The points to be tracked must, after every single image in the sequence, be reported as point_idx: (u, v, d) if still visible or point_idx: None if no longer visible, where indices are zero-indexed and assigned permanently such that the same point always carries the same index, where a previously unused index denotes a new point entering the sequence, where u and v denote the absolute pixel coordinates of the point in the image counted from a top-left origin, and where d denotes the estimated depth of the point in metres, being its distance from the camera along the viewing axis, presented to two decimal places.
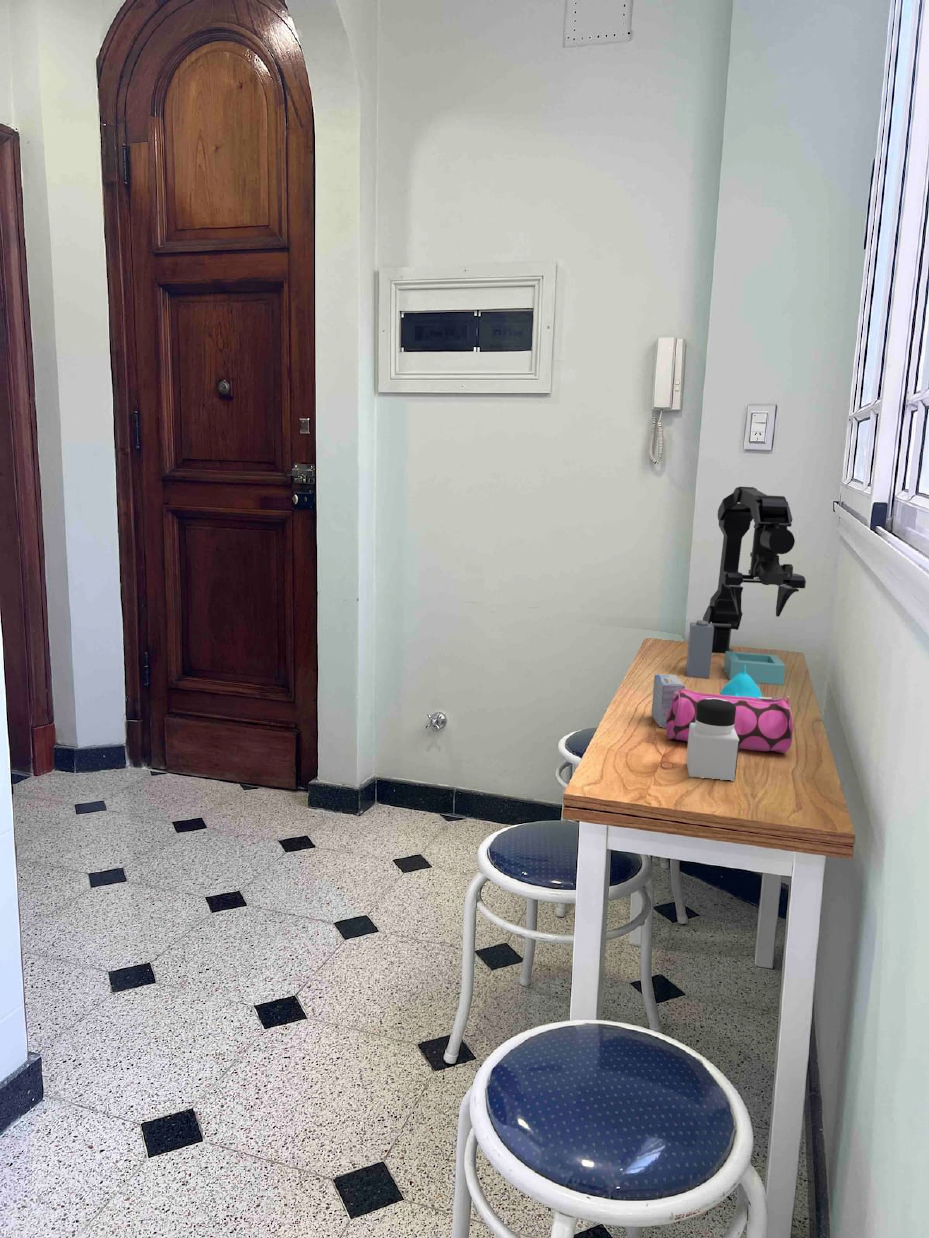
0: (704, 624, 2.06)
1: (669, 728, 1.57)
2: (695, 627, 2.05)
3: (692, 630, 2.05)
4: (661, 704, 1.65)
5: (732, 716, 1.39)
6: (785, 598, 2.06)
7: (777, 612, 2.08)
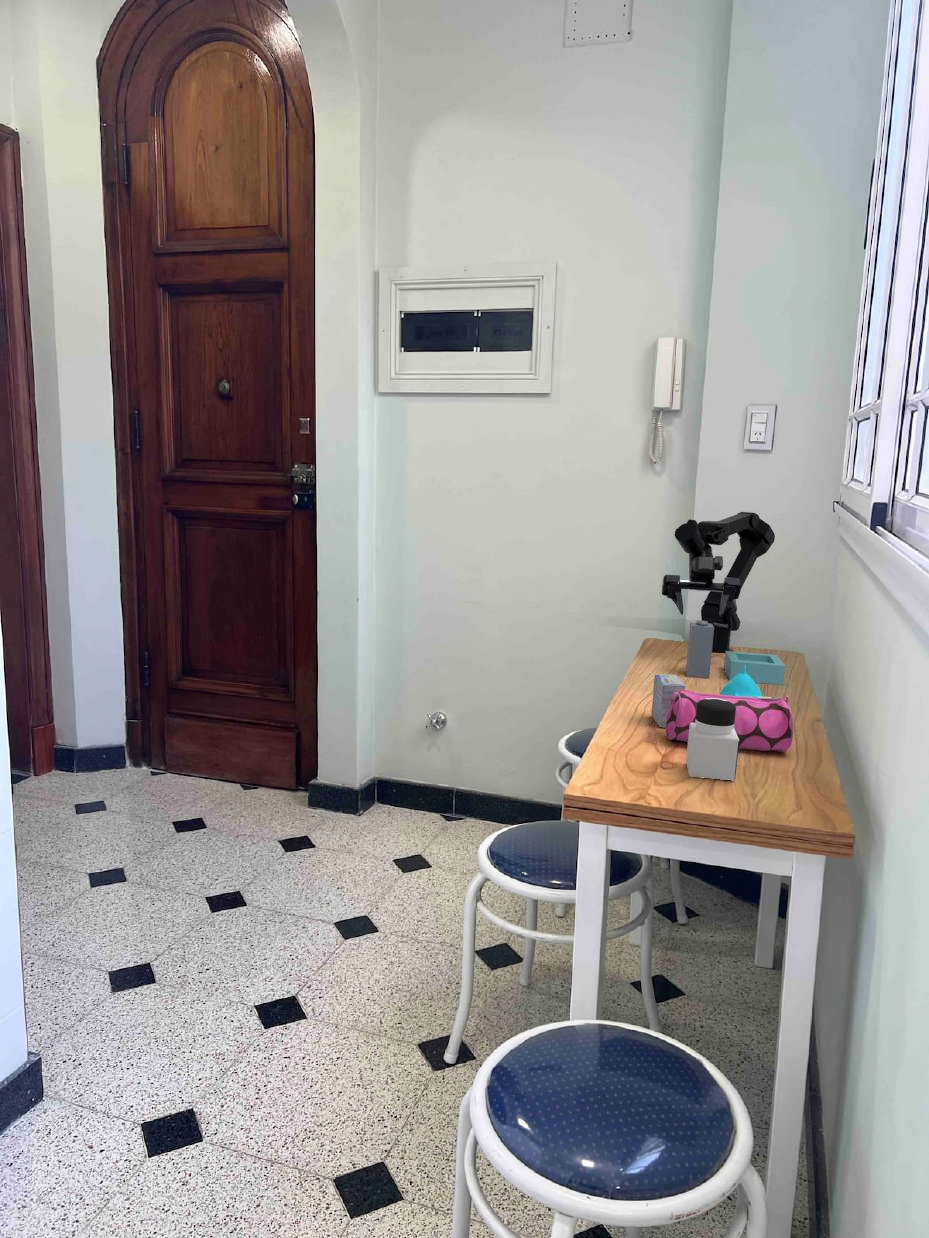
0: (704, 624, 2.06)
1: (670, 729, 1.56)
2: (695, 627, 2.05)
3: (692, 630, 2.05)
4: (661, 704, 1.65)
5: (732, 716, 1.39)
6: (724, 597, 2.15)
7: (720, 612, 2.14)
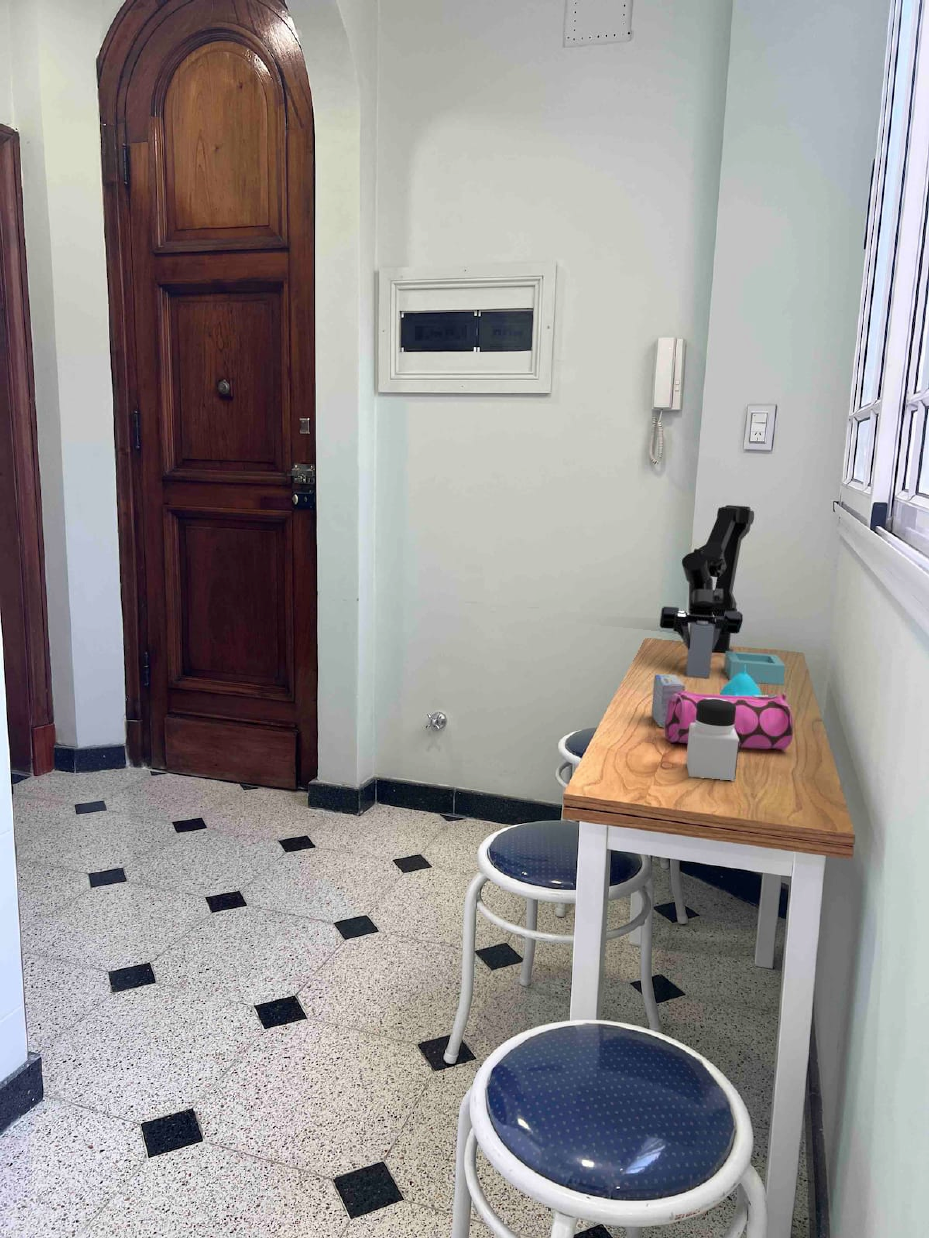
0: (704, 624, 2.06)
1: (673, 731, 1.55)
2: (695, 627, 2.05)
3: (692, 630, 2.05)
4: (661, 704, 1.65)
5: (732, 716, 1.39)
6: (716, 631, 2.08)
7: None
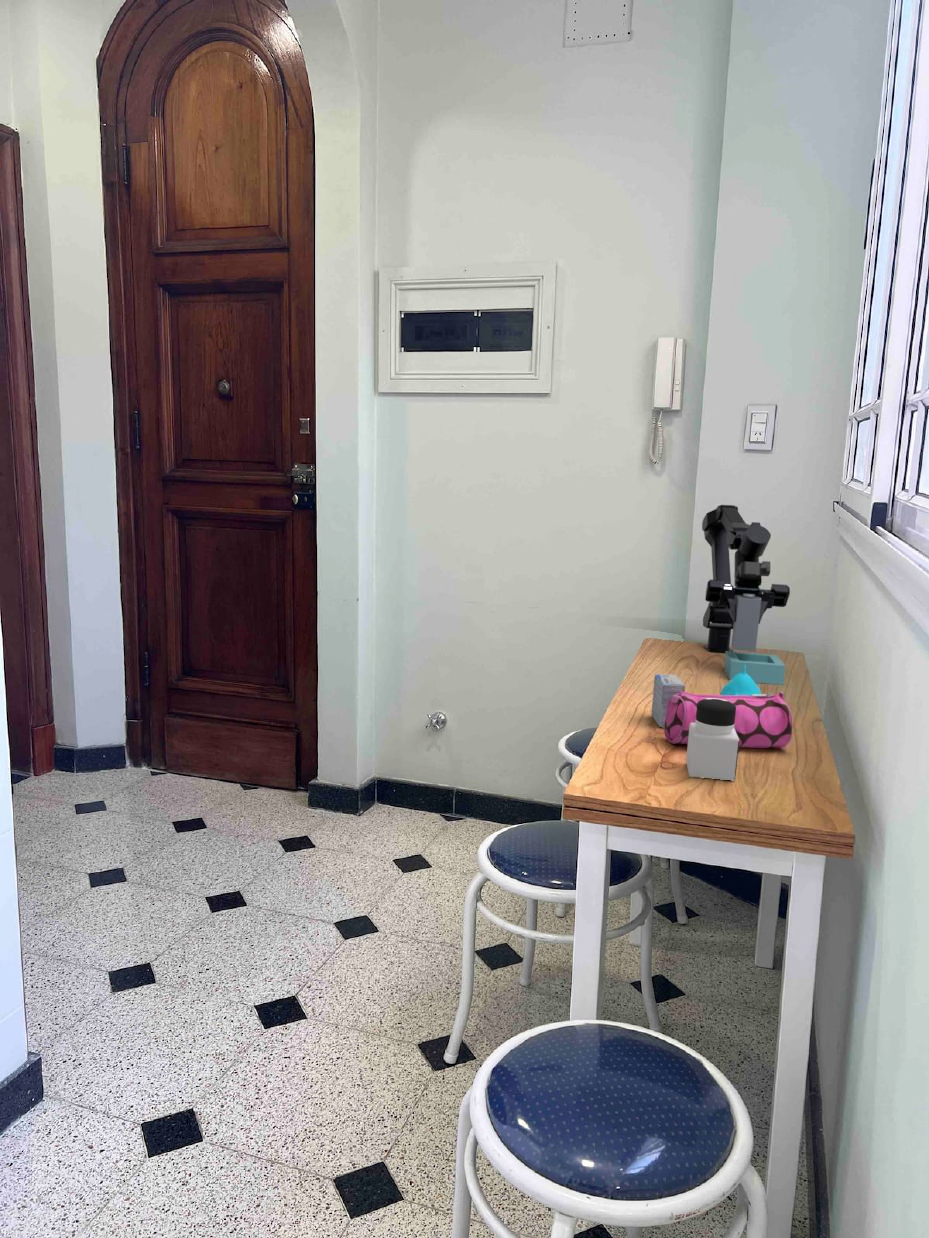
0: (751, 597, 2.05)
1: (675, 733, 1.54)
2: (742, 600, 2.05)
3: (739, 603, 2.05)
4: (661, 704, 1.65)
5: (732, 716, 1.39)
6: (763, 603, 2.07)
7: None
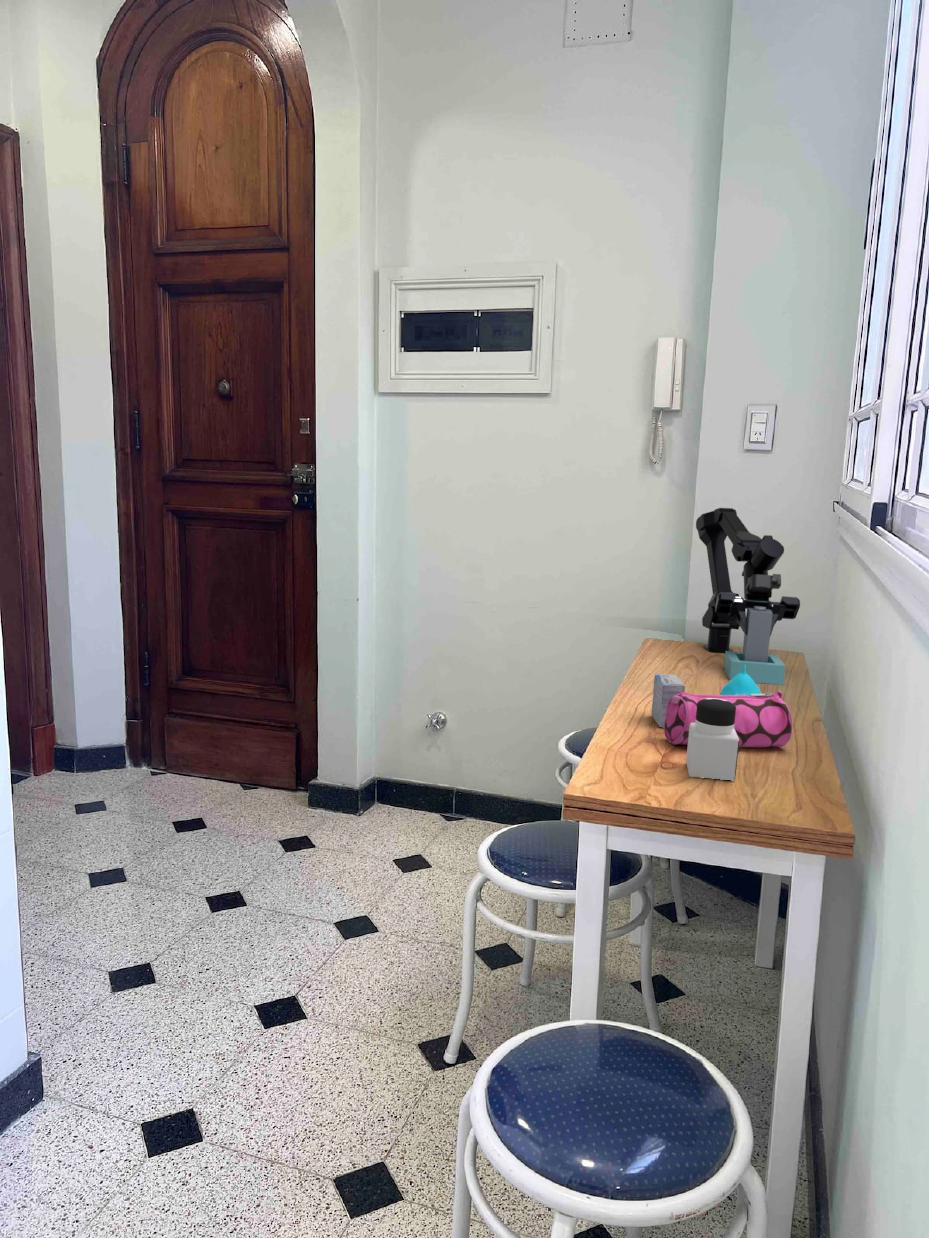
0: (762, 609, 2.06)
1: (676, 734, 1.53)
2: (753, 612, 2.05)
3: (750, 615, 2.06)
4: (661, 704, 1.65)
5: (732, 716, 1.39)
6: (773, 616, 2.08)
7: None
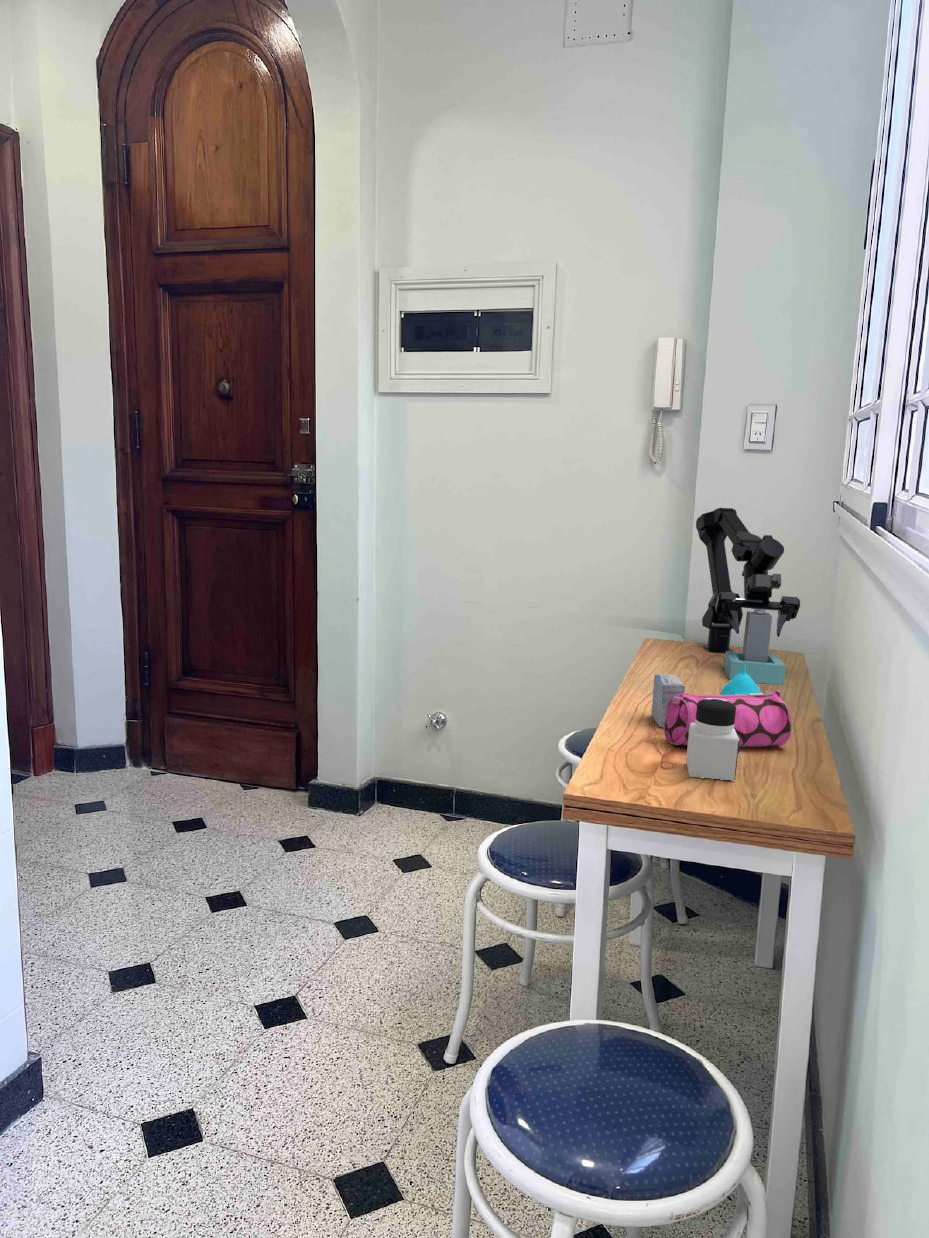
0: (762, 613, 2.06)
1: (678, 735, 1.53)
2: (753, 616, 2.05)
3: (750, 619, 2.06)
4: (661, 704, 1.65)
5: (732, 716, 1.39)
6: (782, 616, 2.08)
7: (777, 631, 2.07)
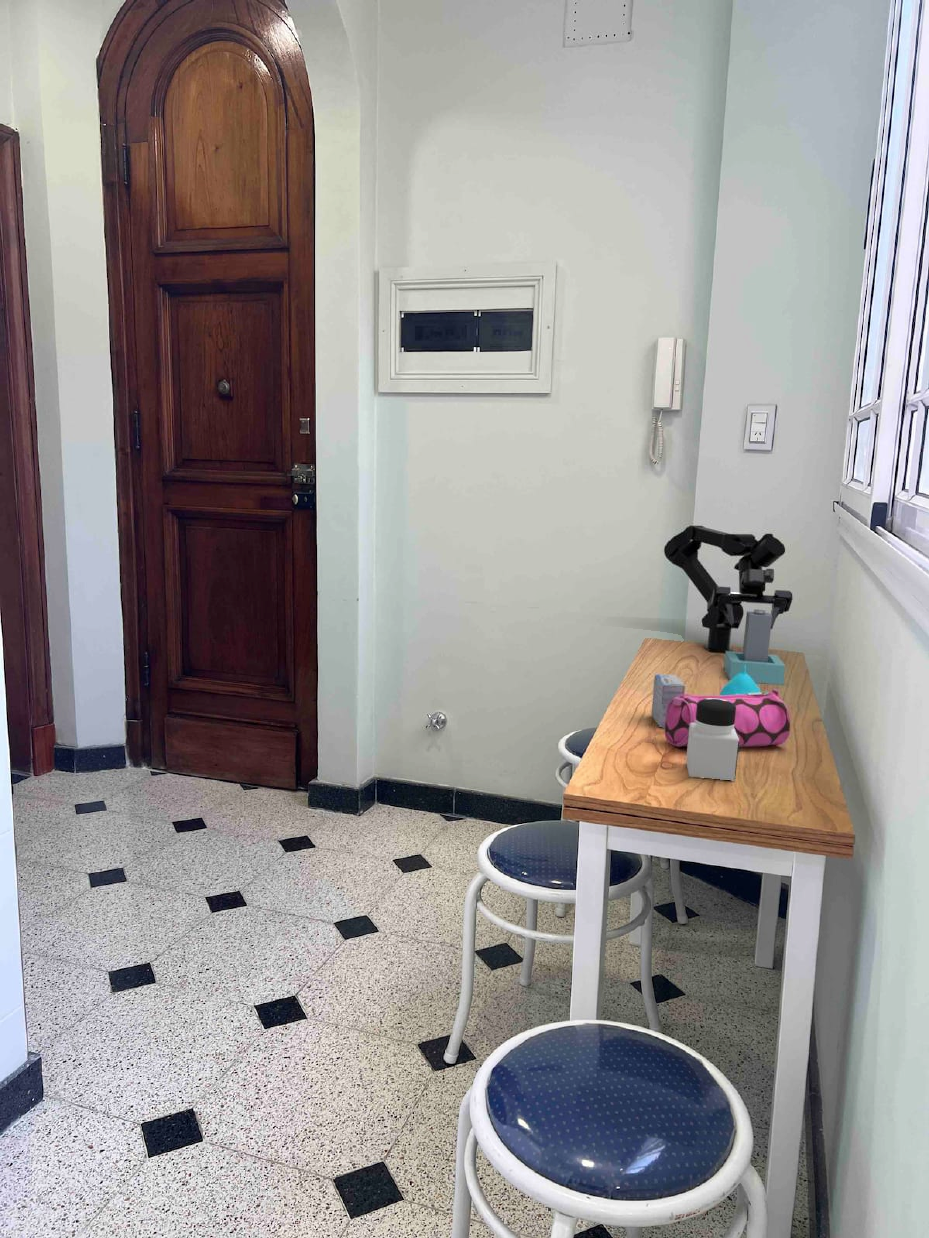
0: (762, 613, 2.06)
1: (681, 736, 1.52)
2: (753, 616, 2.05)
3: (750, 619, 2.06)
4: (661, 704, 1.65)
5: (732, 716, 1.39)
6: (775, 609, 2.17)
7: None
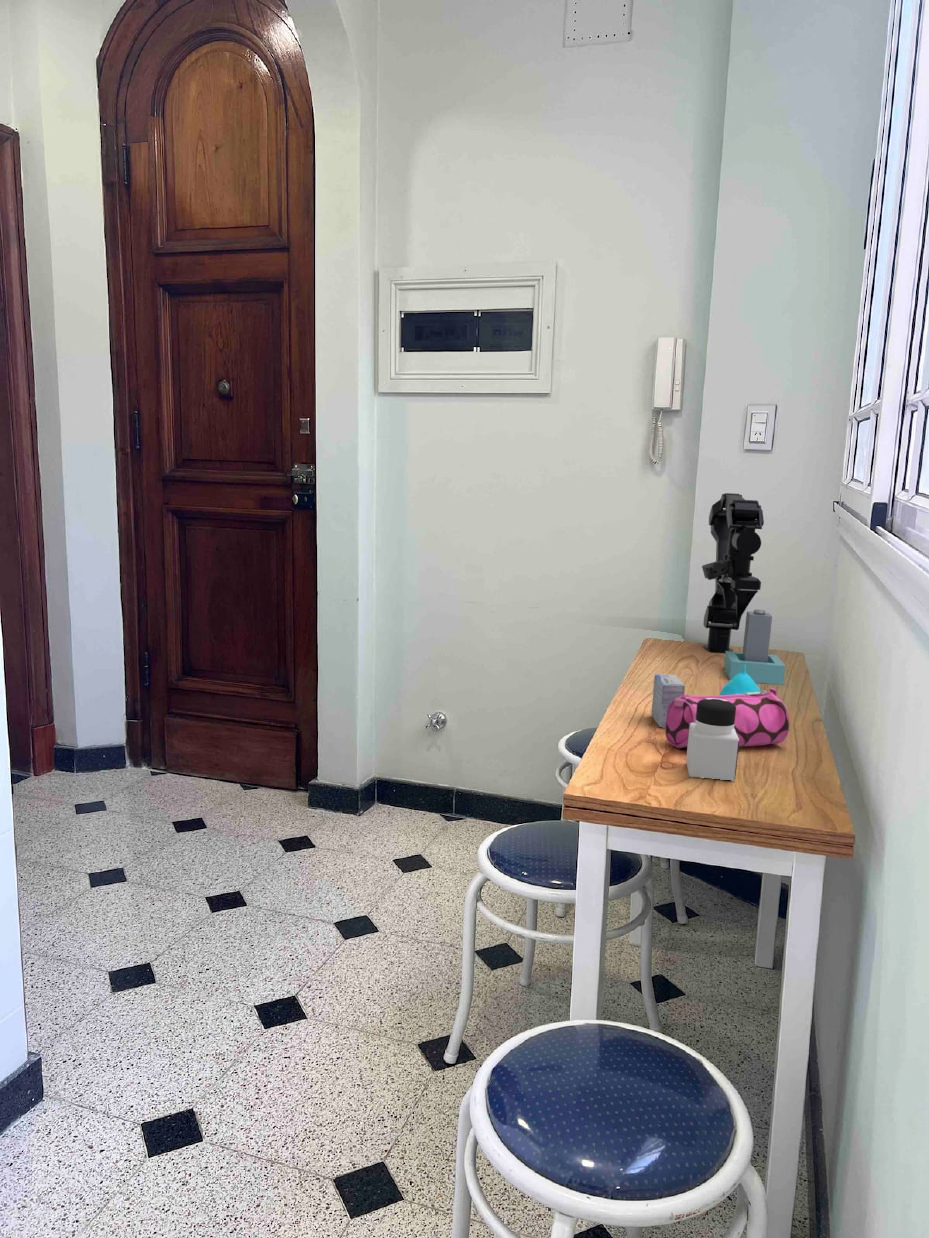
0: (762, 613, 2.06)
1: (683, 737, 1.52)
2: (753, 616, 2.05)
3: (750, 619, 2.06)
4: (661, 704, 1.65)
5: (732, 716, 1.39)
6: (736, 598, 2.15)
7: None
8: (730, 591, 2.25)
